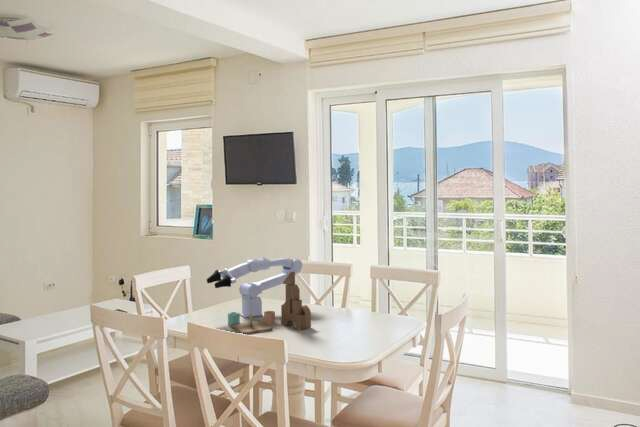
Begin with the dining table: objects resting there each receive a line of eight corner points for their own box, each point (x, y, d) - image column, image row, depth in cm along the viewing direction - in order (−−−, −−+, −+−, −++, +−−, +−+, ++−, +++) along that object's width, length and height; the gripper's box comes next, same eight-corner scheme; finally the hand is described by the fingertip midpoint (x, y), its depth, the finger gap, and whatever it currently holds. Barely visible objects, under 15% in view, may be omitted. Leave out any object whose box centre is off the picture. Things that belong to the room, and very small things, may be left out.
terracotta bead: (270, 320, 234) (269, 310, 234) (277, 322, 231) (277, 312, 231) (262, 323, 231) (261, 312, 230) (269, 324, 227) (269, 313, 227)
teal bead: (237, 321, 233) (237, 311, 233) (240, 324, 229) (240, 313, 229) (227, 323, 231) (226, 312, 231) (230, 325, 226) (230, 314, 226)
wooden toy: (312, 327, 221) (311, 272, 221) (300, 330, 217) (299, 273, 216) (290, 321, 233) (289, 268, 232) (279, 324, 228) (278, 270, 228)
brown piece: (259, 322, 232) (259, 308, 231) (272, 330, 217) (272, 315, 217) (230, 326, 225) (230, 312, 225) (242, 334, 211) (241, 319, 211)
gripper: (226, 261, 245) (202, 271, 237) (242, 269, 234) (217, 280, 226) (229, 274, 247) (205, 284, 239) (244, 282, 237) (220, 294, 229)
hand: (211, 283), depth 233 cm, fingers open, 7 cm apart
